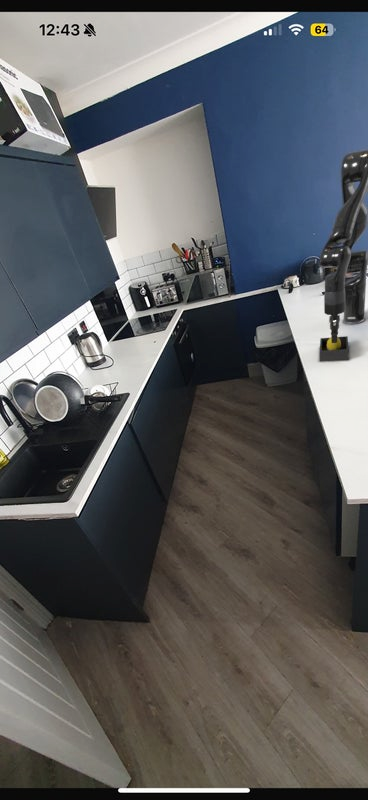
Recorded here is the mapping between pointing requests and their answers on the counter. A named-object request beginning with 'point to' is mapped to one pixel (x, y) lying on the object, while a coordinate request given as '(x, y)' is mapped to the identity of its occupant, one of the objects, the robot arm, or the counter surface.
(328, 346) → the lemon
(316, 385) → the counter surface
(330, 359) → the tote
